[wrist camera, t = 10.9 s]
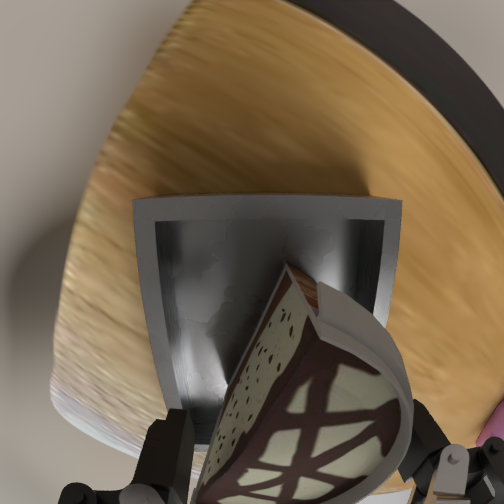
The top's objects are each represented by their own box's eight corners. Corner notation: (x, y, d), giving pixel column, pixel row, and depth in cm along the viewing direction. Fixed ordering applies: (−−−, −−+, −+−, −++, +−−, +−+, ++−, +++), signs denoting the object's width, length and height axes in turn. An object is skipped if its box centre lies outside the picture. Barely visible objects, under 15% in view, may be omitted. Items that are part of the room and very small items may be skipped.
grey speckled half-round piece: (298, 424, 17) (302, 539, 7) (220, 399, 17) (184, 518, 7) (390, 279, 15) (498, 370, 5) (297, 237, 15) (334, 312, 5)
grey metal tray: (370, 195, 15) (402, 200, 12) (338, 409, 19) (350, 439, 16) (155, 195, 14) (132, 199, 11) (185, 418, 19) (180, 450, 15)
